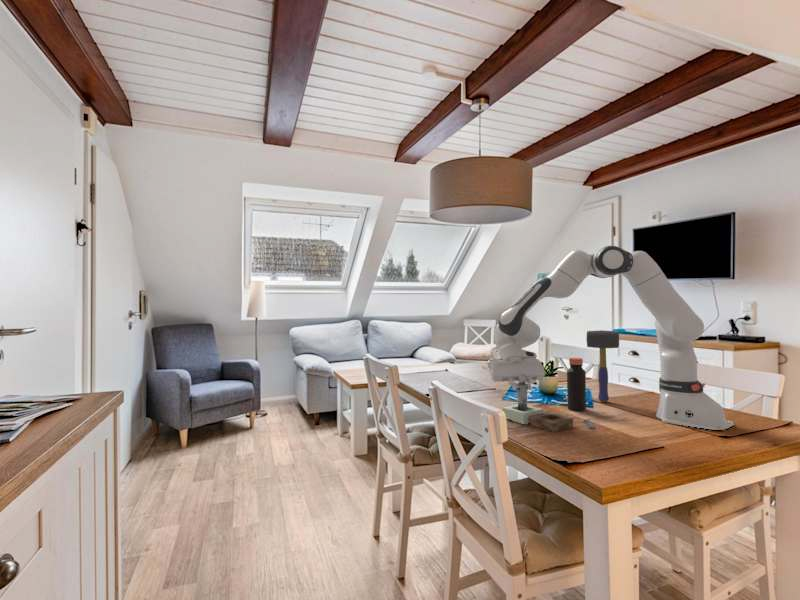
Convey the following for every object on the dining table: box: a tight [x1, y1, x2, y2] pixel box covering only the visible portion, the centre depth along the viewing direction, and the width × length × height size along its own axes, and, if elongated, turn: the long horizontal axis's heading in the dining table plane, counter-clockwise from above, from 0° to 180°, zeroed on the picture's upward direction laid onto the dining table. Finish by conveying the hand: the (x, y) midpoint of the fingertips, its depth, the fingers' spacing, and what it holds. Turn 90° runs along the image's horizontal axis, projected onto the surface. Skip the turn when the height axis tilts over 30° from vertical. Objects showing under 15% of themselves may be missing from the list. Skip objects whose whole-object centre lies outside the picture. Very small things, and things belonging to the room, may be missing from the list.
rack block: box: [502, 404, 544, 425], centre depth 156 cm, size 10×10×4 cm
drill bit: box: [516, 374, 528, 411], centre depth 156 cm, size 3×3×13 cm
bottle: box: [566, 357, 587, 412], centre depth 169 cm, size 7×7×20 cm
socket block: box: [529, 411, 574, 433], centre depth 148 cm, size 10×10×3 cm
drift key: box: [583, 419, 597, 430], centre depth 148 cm, size 8×2×1 cm, turn 170°
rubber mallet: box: [586, 330, 620, 403], centre depth 180 cm, size 12×8×30 cm, turn 66°
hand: (522, 389), depth 156 cm, fingers closed on drill bit, 3 cm apart
